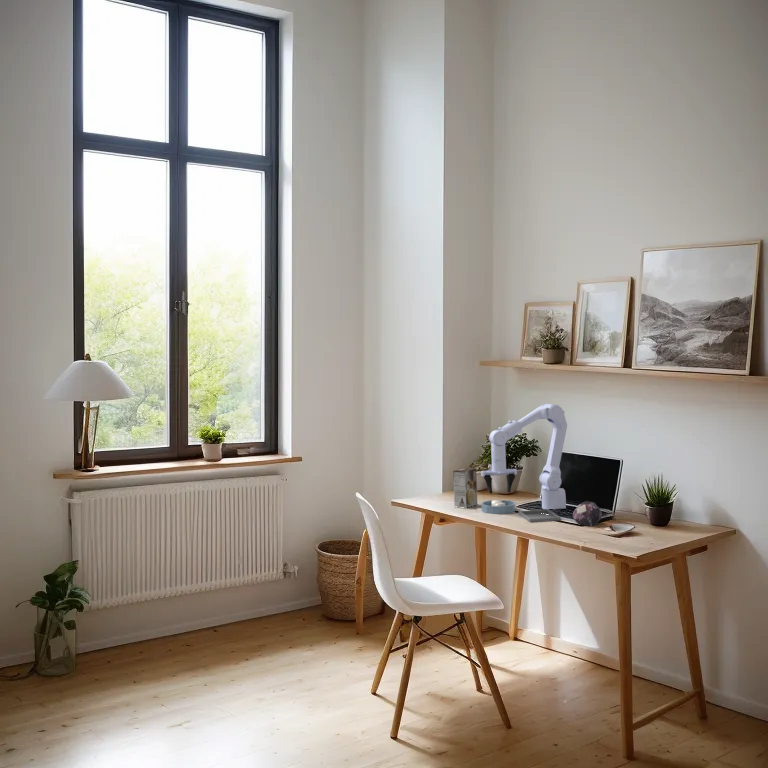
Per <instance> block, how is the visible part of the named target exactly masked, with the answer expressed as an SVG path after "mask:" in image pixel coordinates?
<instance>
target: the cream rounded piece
mask: <svg viewBox="0 0 768 768" xmlns="http://www.w3.org/2000/svg"><path fill="white" fill-rule="evenodd" d="M495 506H505V503H502V502H499V503H495Z"/></svg>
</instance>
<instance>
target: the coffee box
mask: <svg viewBox="0 0 768 768" xmlns="http://www.w3.org/2000/svg"><path fill="white" fill-rule="evenodd" d="M452 473H453V495H454V497H453V499H454V500H453V501H454V502H453V503H454V507H455V506H457V507H464V508H463V509H465V508H467V507H470V508H472V507H475V506H477V505H478V483H477V482H478V481H477V479H478V478H477V468H476V467H475V468H473V467H463V468H458V469H455V470H453V472H452ZM474 505H475V506H474ZM471 506H472V507H471ZM467 509H468V508H467Z"/></svg>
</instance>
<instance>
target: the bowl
mask: <svg viewBox="0 0 768 768" xmlns="http://www.w3.org/2000/svg"><path fill="white" fill-rule="evenodd" d="M493 500H494V499H491V500H485V501H482V502H481V504H480V506H481V512H482V513H484V514H488V515H489V514H491V515H503V514H505V515H507V514H512V513H515V512H516V511H517V509H516V508H517V507H516V505H517V503H516V502H515V501H514V500H507V499H500V500H501V501H502V503H505V506H492V504H491V501H493Z"/></svg>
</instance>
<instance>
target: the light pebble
mask: <svg viewBox="0 0 768 768" xmlns="http://www.w3.org/2000/svg"><path fill="white" fill-rule="evenodd" d="M492 500H493V501H491V504H492V506H495V503H499V502H502V501H501V500H502V499H492Z"/></svg>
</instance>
